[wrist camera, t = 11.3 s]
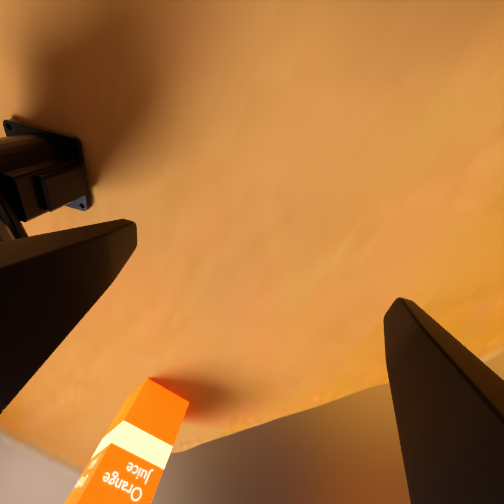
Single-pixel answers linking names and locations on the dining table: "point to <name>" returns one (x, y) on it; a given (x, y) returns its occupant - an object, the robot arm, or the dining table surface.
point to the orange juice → (133, 449)
